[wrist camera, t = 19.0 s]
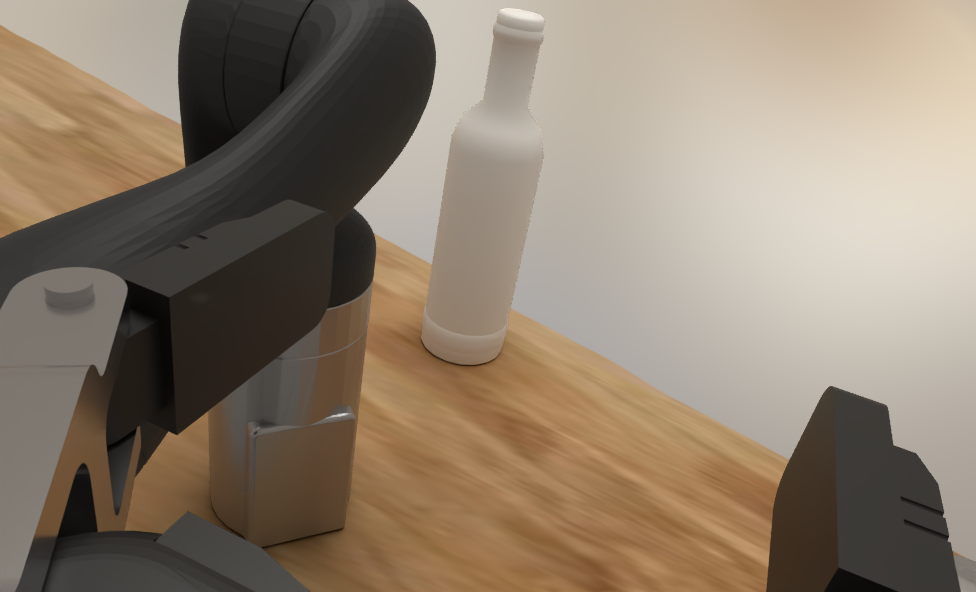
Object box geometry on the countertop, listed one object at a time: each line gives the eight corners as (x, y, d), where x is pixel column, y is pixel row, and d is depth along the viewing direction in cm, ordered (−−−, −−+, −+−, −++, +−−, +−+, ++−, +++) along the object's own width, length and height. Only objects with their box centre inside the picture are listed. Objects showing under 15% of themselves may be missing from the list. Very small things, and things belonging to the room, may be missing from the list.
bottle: (508, 331, 73) (577, 17, 58) (495, 375, 66) (570, 31, 52) (430, 312, 74) (480, -4, 59) (409, 354, 67) (459, 8, 52)
